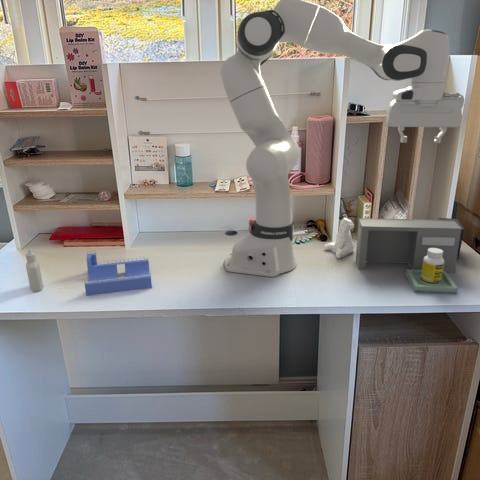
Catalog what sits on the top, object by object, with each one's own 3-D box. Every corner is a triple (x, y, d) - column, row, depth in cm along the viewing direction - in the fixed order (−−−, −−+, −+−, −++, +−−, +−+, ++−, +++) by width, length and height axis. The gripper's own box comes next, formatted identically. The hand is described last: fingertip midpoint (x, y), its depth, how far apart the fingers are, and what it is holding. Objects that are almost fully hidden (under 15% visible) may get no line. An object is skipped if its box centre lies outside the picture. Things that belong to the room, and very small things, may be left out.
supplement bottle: (434, 288, 129) (439, 255, 125) (416, 281, 133) (420, 250, 129) (444, 282, 132) (449, 250, 128) (426, 276, 136) (431, 245, 132)
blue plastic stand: (86, 297, 130) (82, 273, 127) (89, 272, 145) (86, 251, 142) (152, 289, 133) (149, 266, 131) (148, 266, 148) (146, 245, 146)
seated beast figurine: (322, 249, 158) (324, 215, 154) (344, 245, 161) (346, 212, 157) (337, 259, 150) (340, 224, 146) (360, 255, 153) (363, 220, 149)
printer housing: (358, 270, 142) (362, 226, 137) (355, 259, 149) (359, 218, 144) (454, 273, 139) (462, 229, 134) (447, 262, 146) (453, 220, 141)
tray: (414, 292, 128) (415, 286, 128) (406, 274, 138) (406, 269, 138) (456, 293, 127) (457, 287, 126) (444, 276, 137) (445, 270, 136)
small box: (460, 259, 148) (465, 228, 144) (438, 258, 149) (443, 227, 146) (453, 247, 158) (457, 217, 154) (432, 246, 159) (436, 217, 155)
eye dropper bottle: (24, 292, 132) (16, 253, 128) (34, 283, 137) (27, 245, 133) (39, 292, 132) (31, 253, 127) (48, 283, 137) (41, 245, 133)
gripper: (461, 92, 133) (454, 141, 138) (387, 92, 135) (383, 140, 140) (469, 93, 127) (460, 144, 132) (391, 93, 129) (386, 144, 134)
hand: (420, 142), depth 136 cm, fingers open, 8 cm apart
